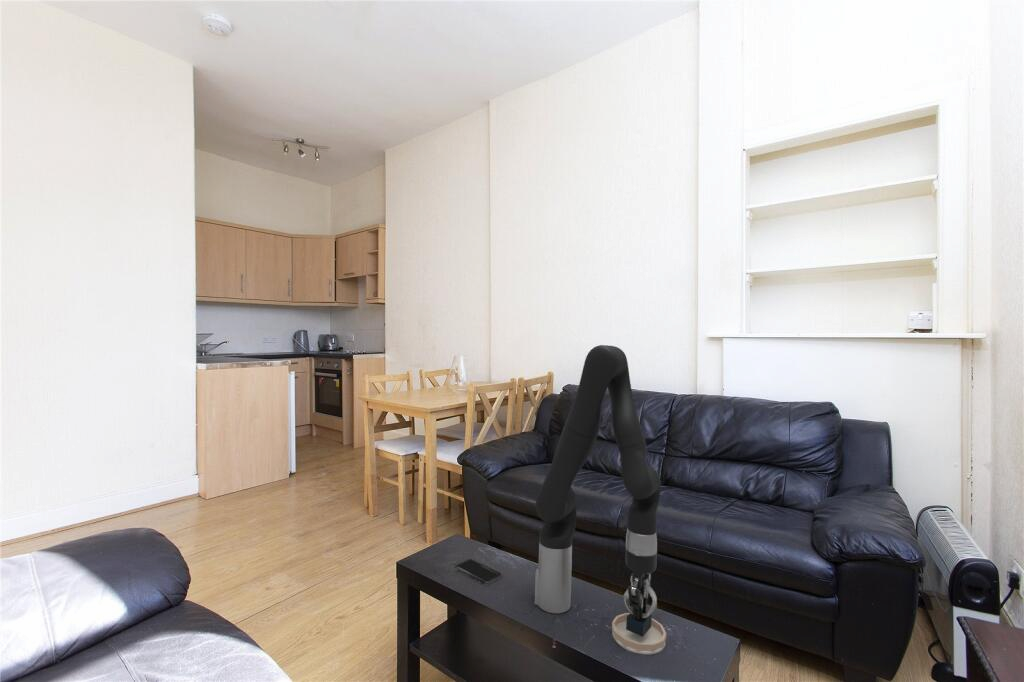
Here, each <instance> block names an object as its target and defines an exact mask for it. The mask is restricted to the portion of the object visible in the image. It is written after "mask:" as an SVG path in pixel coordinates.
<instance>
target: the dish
mask: <svg viewBox="0 0 1024 682" xmlns="http://www.w3.org/2000/svg"><path fill="white" fill-rule="evenodd" d="M629 614H630V612H624V613H622V614H618V615H616V616H615V617H614V619H613V620H612V621H611V631H612V633H611V634H612V639H613V640H614V641H615V642H616V643H617V644H618V645H619V646H620V647H621V648H623V649H624V650H626V651H629V652H631V653H634V654H638V655H647V656H648V655H656V654H659V653H661V652H662V651H663V650H664V649H665V647H666V641H667V632H666V630H665V627H664V626H663V624H662V623H660V622H659V621H657V620H656V619H654V618H653V617H652V620H651V628H650V629H649V630H648V632H647V633H646V634H645V635H644V636H643V637H642V636H640V635H637V634H635V633H633V632H631V631H628V630H626V621H627V616H628V615H629Z"/></svg>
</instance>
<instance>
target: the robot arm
mask: <svg viewBox="0 0 1024 682" xmlns="http://www.w3.org/2000/svg"><path fill="white" fill-rule="evenodd" d="M627 358H628V357H627V356H626V353H625V352H624V350H623V349H621V348H620V347H617V346H615V345H604V344H599V345H596V346H594V347H593V348H592V349H590V350H589V352H588V353H587V355H586V356H585V359H584V363H583V367H582V372H581V375H580V380H579V384H578V387H577V391H576V394H575V397H574V399H573V401H572V404H571V407H570V410H569V412H568V416H567V417H566V420H565V423H564V426H563V428H562V431H561V434H560V437H559V441H558V444H557V446H556V449H555V452H554V455H553V459H552V462H551V465H550V467H549V470H548V472H547V474H546V477H545V479H544V481H543V483H542V484H541V487H540V489H539V491H538V494H537V496H536V499H535V510H536V513H537V515H538V517H539V518H540V519H541V520H542V521H543V522H544V524H543V526H542V527H541V530H540V532H539V534H538V535H539V539H538V540H539V541H538V542H539V543H538V546H539V547H538V567H537V568H536V569H535V576H534V578H535V579H534V580H535V583H534V605H536V606H538V607H539V609H541V610H542V611H544V612H546V613H550V614H563V613H565V612H568V611H569V610H570V608H571V606H572V604H571V602H572V601H571V600H572V597H571V596H572V594H571V593H572V567H573V566H572V564H573V563H572V562H573V561H572V559H573V557H572V556H573V537H574V535H575V532H576V524H577V523H576V522H577V521H576V520H577V507H578V506H577V505H578V503H577V497H576V494H575V492H574V490H573V488H572V484H573V482H574V480H575V479H576V477H577V475H578V474H579V473H580V471H581V469H582V468H583V466H584V465H585V463H586V462H587V460H588V459H589V457H590V455H591V454H592V452H593V449H594V447H595V444H596V441H597V439H598V435H599V432H600V429H601V418H602V417H601V416H602V414H601V413H602V403H603V400H604V397H605V394H606V391H608V394H609V398H610V403H611V405H610V406H611V421H612V422H611V424H612V428H613V429H612V430H613V434H614V437H615V441H616V445H617V448H618V452H619V454H620V465H621V474H622V475H621V476H622V482H623V485H624V487H625V489H626V491H627V493H628V494H629V496H631V497H632V501H631V504H630V505H629V507H628V509H627V527H626V528H627V529H626V536H625V560H624V561H625V565H626V567H627V568H628V569H630V570H631V572H632V573H631V575H630V580H629V581H630V583H631V584H630V585H628V587H627V589H628V593H629V602H630V606H632V607H633V618H634V619H635V620H637V621H640V620H641V621H642V612H643V613H646V612H647V604H648V603H647V602H648V601H647V599H648V597H649V593H648V592H647V590H646V586H647V584H648V585H649V586H650V587H651V580H652V573H654V572H655V571H656V570H657V564H658V563H657V561H658V560H657V559H658V558H657V556H658V537H657V522H658V521H657V512H658V506H659V502H660V496H661V489H662V488H661V487H662V484H661V478H660V475H659V473H658V471H657V470H656V469H655V468H654V467H652V466H649V465H647V460H646V456H647V454H648V447H647V443H646V438H645V436H644V432H643V429H642V427H641V423H640V419H639V415H638V413H637V409H636V405H635V401H634V396H633V390H632V384H631V377H630V371H629V364H628V362H629V361H628V359H627Z"/></svg>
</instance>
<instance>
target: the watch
mask: <svg viewBox="0 0 1024 682" xmlns="http://www.w3.org/2000/svg"><path fill="white" fill-rule="evenodd" d="M646 590H647V592H648V595H650V598H651V599H652V602H651V606H650V607H649V610H648V611H647V610H646V613H643V612H642V621H641V620H640V621H637V620H635V619H634V618H633V607H632V606H630V602H629V593H628V588H627V589H626V590H625V592H624V594H623V595H622V596H623V597H624V598H623V602H624V604H625V607H626V608H627V611H629V612H628V613H630V614H629V615H628V616H627V621H626V630H628V631H631V632H633V633H635V634H637V635H640V636H642V637H643V636H644V635H645V634H646V633H647V632H648V630H649V629H650V628H651V620H652V618H653V612H654V611H655V609H656V607H657V606H658V602H657V601H658V598H657V595H656V592H655V591H654V590H653V588H652V587H651V585H650V586H649V585H648V584H647V586H646Z"/></svg>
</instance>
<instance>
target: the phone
mask: <svg viewBox="0 0 1024 682" xmlns="http://www.w3.org/2000/svg"><path fill="white" fill-rule="evenodd" d="M455 569H457V570H459V571H461V572H463V573H465V574H467V575H469V576H470V577H472V578H474V579H476V580H477V581H480V582H481V583H483V584H488V585H490V584H492V583H494V582H496V581H498V580H500V579H502V578H503V574H502V573H501V572H500V571H497V570H496V569H493V568H491V567H489V566H488V565H486V564H484V563H481V562H480V561H477V560H476V559H473V558H469V559H466V560H464V561H461V562H459V563H457V564H455V565H454V570H455ZM457 570H456V571H457ZM459 571H458V572H459ZM461 572H460V573H461ZM463 573H462V574H463ZM465 574H464V575H465ZM470 577H469V578H470ZM501 577H502V578H501ZM472 578H471V579H472ZM499 578H500V579H499ZM474 579H473V580H474ZM497 579H498V580H497ZM476 580H475V581H476ZM495 580H496V581H495ZM477 581H476V582H477ZM493 581H494V582H493ZM491 582H492V583H491ZM481 583H480V584H481ZM489 583H490V584H489ZM483 584H482V585H483Z"/></svg>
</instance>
